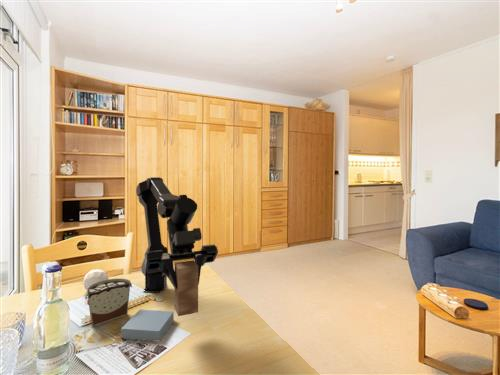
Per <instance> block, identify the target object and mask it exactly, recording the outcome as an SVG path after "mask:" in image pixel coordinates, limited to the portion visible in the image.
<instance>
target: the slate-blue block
mask: <svg viewBox="0 0 500 375" xmlns="http://www.w3.org/2000/svg"><path fill="white" fill-rule="evenodd" d="M174 318H175V317H174V311H171V310H157V309H156V310H155V309H139V310H138V311H137V312H136V313H135V314H134V315H133V316H132V317H131V318H130V319H129V320H128V321H127V322H126V323H125V324H124V325H123V326H122V327H121V329H120V331H121V332H120V334H121V335H120V339H121V338H124V339H125V340H135V339H145V340H144V341H150V340H160V341H161V339H162V338H163V336H164V335H165V333H166V332H167V330H168V329H169V328H170V326H171V324H172V323H173V322H174V320H175V319H174ZM163 334H164V335H163ZM161 337H162V338H161ZM124 339H123V340H124Z"/></svg>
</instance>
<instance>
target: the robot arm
mask: <svg viewBox="0 0 500 375" xmlns="http://www.w3.org/2000/svg"><path fill="white" fill-rule="evenodd" d="M135 189H136V190H135V193H136V196H137V197H138V198H137V199H138V201H139V203H140V205H141V206H142V207H143V209H144V218H145V226H146V229H145V230H146V235H147V244H148V246H147V248H146V249H145V250H146V251H145V252H144V259H143V262H142V263H141V266H140V268H141V273H142V275H144V276H145V277H144V280H145V281H144V286H145V287H144V289H143V290H145V291H147V292H146V293H162V291H163V290H164V289H166V287H167V286H168V282H167V279H168V281H170V283H171V284H172V286H173V287H174V290H175V289H177V288H178V286H177V280H176V275H175V266H174V262H176V261H177V262H180V261H184V260H185V261H188V260H194V262H195V263H196V264H197V265H198V286H199V285H200V277H201V271H202V270H201V269H202V267H204V266H205V264H207V263H209V264H210V263H214V262H215V260H216V257H217V256H218V253H219V250H218V247H217V245H215V244H206V245H202V246H201V249H200V250H196V251H194V249H195V244H196V242H198V241H199V242H200V241H201V240H202V231H201V228H200V227H198V228H195V227H194V228H193V229H192V230H189V226H188V225H189V224H190V223H191V222H192V219H193V218H194V216H195V214H196V212H197V209H198V203H197V202H196V201H195V200H194V199H193V198H190V197H188V196H187V194H179V196H178V195H176V194H172V192H171V191H170V190H169V188H168V187H167V185H166V184H165V182H164V179H163V177H158V176H157V177H155V176H154V177H151V176H150V177H147V178H146V179H145V180H143V181H141V182H139V183H138V184H137V185H136V188H135ZM159 216H160V217H161V218H162V219H168V220H167V221H166V231H167V235H168V242H169V248H168V247H167V246H164V245H163V243H162V234H161V225H160V219H159V218H160V217H159ZM168 249H170V252H169V250H168Z"/></svg>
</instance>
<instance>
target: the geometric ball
mask: <svg viewBox="0 0 500 375" xmlns="http://www.w3.org/2000/svg"><path fill="white" fill-rule="evenodd" d="M108 279H109V277H108V273H107V272H106V271H104V270H102V269H100V268H98V269H91V270H90V271H88V272H87V273H86V274H85V275H84V278H83V281H82V284H83V287H84V289H85V290H86V291H87V289H88V287H90V286H91V285H92V284H95V283H97V282H100V281H103V280H108Z"/></svg>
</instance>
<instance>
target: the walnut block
mask: <svg viewBox="0 0 500 375" xmlns="http://www.w3.org/2000/svg"><path fill="white" fill-rule="evenodd" d="M174 271H175V275H176V280H177V286H178V288H177V289H175V288H174V309H175V312H176V314H177V317H182V316H183V317H184V316H187V315H188V316H189V315H192V314H195V313H196V314H197V313H199V285H198V265H197V264H196V263H195V260H194V259H191V260H185V261H184V260H183V261H177V262H176V261H175V262H174Z"/></svg>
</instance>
